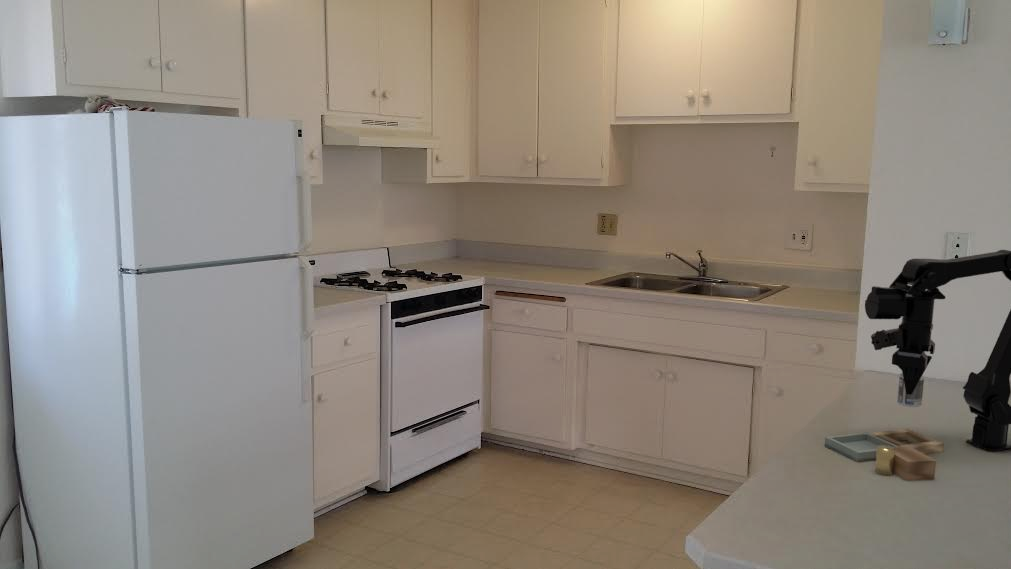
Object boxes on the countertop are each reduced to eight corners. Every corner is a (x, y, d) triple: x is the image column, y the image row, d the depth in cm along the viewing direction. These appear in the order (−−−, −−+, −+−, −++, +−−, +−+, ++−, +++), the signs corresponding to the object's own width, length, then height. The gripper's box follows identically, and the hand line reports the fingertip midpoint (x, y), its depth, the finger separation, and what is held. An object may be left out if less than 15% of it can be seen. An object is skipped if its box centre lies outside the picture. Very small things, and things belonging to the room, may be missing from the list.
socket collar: (906, 436, 189) (907, 428, 189) (943, 451, 180) (943, 443, 180) (869, 440, 186) (869, 432, 186) (903, 456, 177) (904, 448, 176)
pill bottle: (925, 405, 181) (929, 366, 180) (914, 408, 178) (918, 369, 177) (903, 399, 185) (907, 362, 183) (892, 403, 182) (896, 365, 181)
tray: (866, 441, 186) (866, 432, 185) (900, 456, 176) (901, 447, 176) (824, 446, 182) (825, 437, 182) (857, 462, 173) (858, 452, 172)
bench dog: (884, 468, 169) (886, 444, 169) (896, 474, 166) (898, 449, 166) (871, 470, 168) (873, 445, 168) (883, 476, 165) (885, 451, 165)
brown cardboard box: (908, 465, 172) (910, 446, 172) (934, 480, 164) (936, 460, 164) (881, 466, 171) (883, 447, 171) (905, 481, 163) (907, 461, 163)
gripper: (882, 308, 191) (877, 376, 193) (868, 321, 175) (862, 395, 177) (938, 314, 185) (931, 384, 187) (928, 328, 169) (921, 404, 172)
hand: (910, 391), depth 181 cm, fingers closed on pill bottle, 5 cm apart
